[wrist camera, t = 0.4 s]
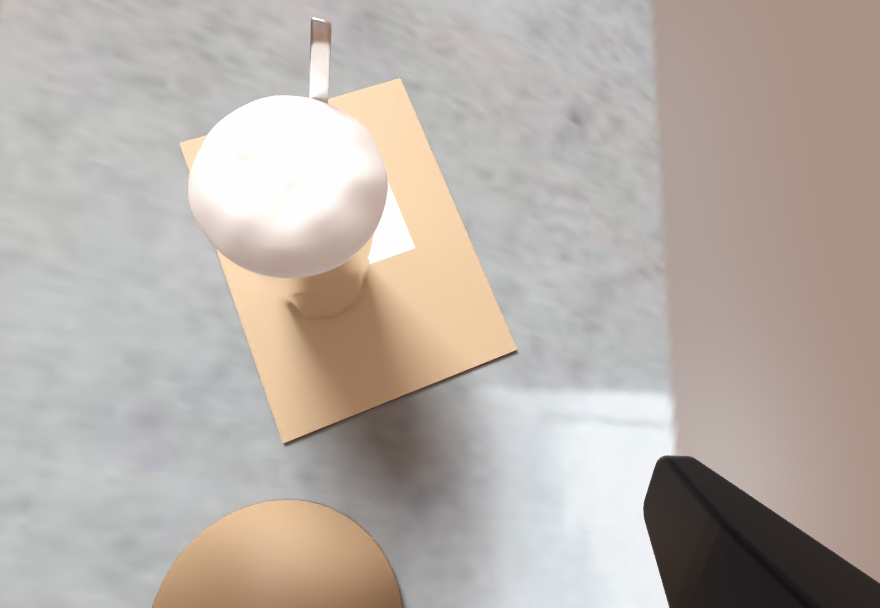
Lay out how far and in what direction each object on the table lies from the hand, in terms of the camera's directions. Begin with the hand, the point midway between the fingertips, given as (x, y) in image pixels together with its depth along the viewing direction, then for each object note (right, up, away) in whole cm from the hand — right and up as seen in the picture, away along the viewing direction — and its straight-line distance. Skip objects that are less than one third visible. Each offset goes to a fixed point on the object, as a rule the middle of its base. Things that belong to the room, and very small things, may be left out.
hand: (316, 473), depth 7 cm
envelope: (-2, +4, +15) cm, 15 cm away
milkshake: (-3, +4, +14) cm, 15 cm away
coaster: (-4, -8, +11) cm, 15 cm away
